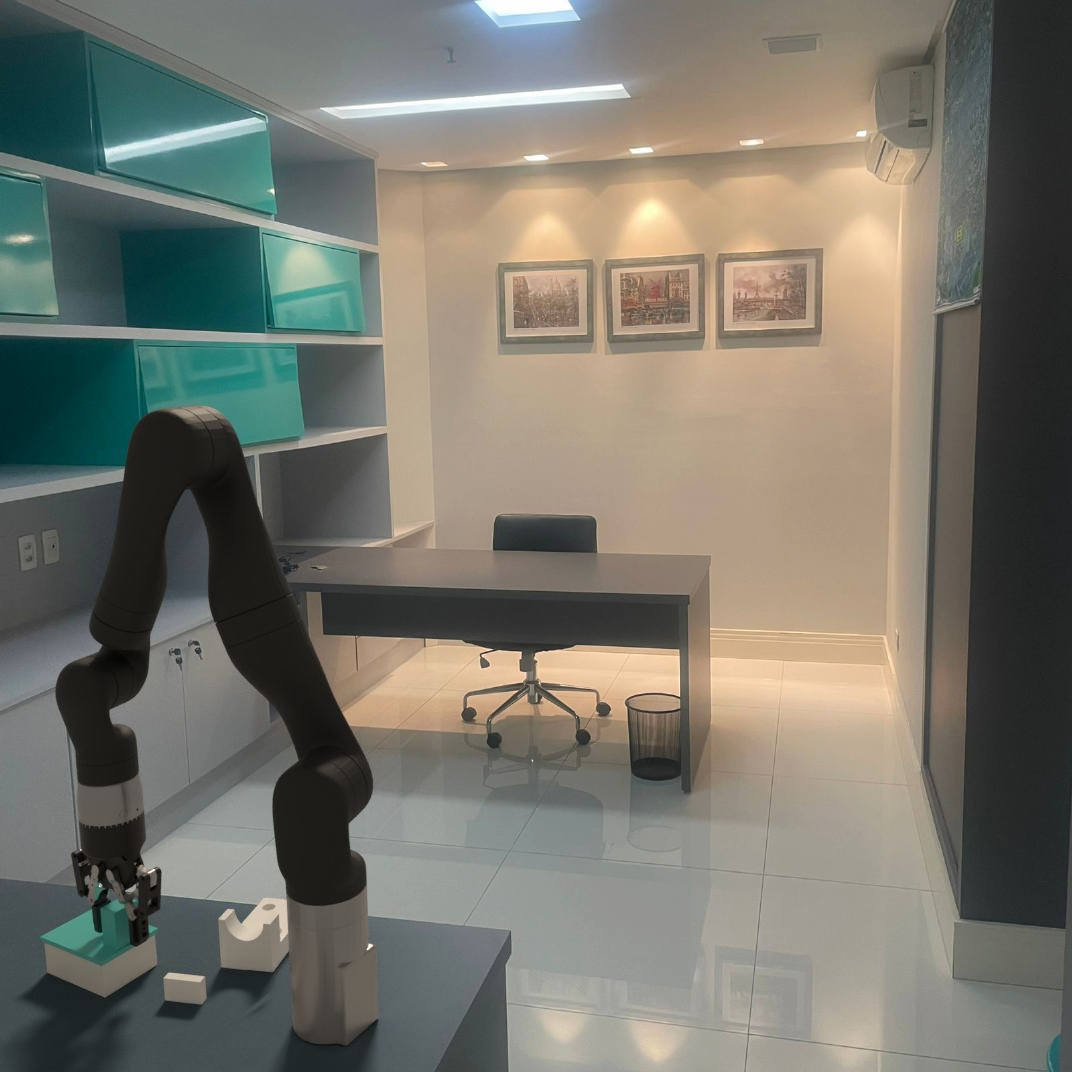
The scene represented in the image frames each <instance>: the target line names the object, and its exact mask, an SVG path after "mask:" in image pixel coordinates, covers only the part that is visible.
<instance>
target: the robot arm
mask: <svg viewBox="0 0 1072 1072" xmlns="http://www.w3.org/2000/svg"><path fill="white" fill-rule="evenodd" d="M130 436H131V437H130V439H129V443H128V447H127V453H126V457H125V464H124V470H123V471H124V472H123V479H122V485H121V494H120V499H119V506H118V511H117V512H118V513H117V517H116V525H115V531H114V537H113V542H112V547H111V551H110V552H111V553H110V556H109V559H108V562H107V563H108V564H107V565H106V569H105V572H104V576H103V579H102V580H101V581H102V582H101V585H100V588H99V591H98V594H97V597H96V599H95V603H94V605H93V608H92V612H91V615H90V617H89V624H88V628H89V632H90V635H91V636H92V638H93V640H95V642H97V643H98V644H100V645H101V646H100V648H99V650H98V651H97V652H95V653H91V654H90V655H86V656H84V657H81V658H78V659H76V660H73V661H71V662H69V663H67V664H66V665H65V666H64V667H63V668H62V669H61V671H60V672H59V674H58V677H57V680H56V684H55V691H54V692H55V693H54V694H55V701H56V706H57V708H58V710H59V713H60V716H61V719H62V720H63V722H64V726H65V728H66V731H67V733H68V736H69V738H70V741H71V743H72V745H73V748H74V752H75V753H74V754H75V755H74V756H75V768H76V779H77V790H76V805H77V817H78V829H79V842H80V848H78V849H76V850H75V851H72V852H70V853H71V854H70V857H71V864H72V867H73V873H74V879H75V884H76V886H75V887H76V890H77V894H78V896H79V897H80V898H83V897H85V898H86V899H87V903H88V905H90V906H91V909H92V916H93V924H94V930H95V931H96V932H98V933H102V922H101V910H100V908H102V907H104V906H105V905H107V904H109V903H111V902H112V900H111V898H109V897H110V895H111V891H113V892H114V893H115V895H116V898H117V899H118V901H119V903H121V904H124V906H125V909H126V911H127V914H128V917H129V919H128V924H129V936H130V945H132V946H135V947H137V946H139V945H141V944H142V943H144V942H146V941H147V939H148V937H149V928H148V927H149V925H150V924H149V916H151V915H153V914H154V913H157V912H159V911H160V910H161V903H162V902H161V901H162V900H161V899H162V869H161V868H160V867H159V866H155V867H153V868H152V869H151V868H149V867H147V866H145V863H144V860H143V857H142V854H141V850H142V848H143V847H144V844H145V842H146V841H147V832H146V831H147V830H146V819H145V818H146V815H145V806H144V805H145V803H144V792H143V791H144V790H143V784H142V778H141V775H140V766H139V764H140V763H139V753H138V752H139V751H138V742H137V741H138V740H137V736H136V732H135V731H134V730H133V729H132V728H131V727H130V726H128V725H125V724H121V723H113V722H112V719H111V713H110V710H113V709H115V708H117V707H119V706H122V705H124V704H126V703H128V702H130V701H132V700H133V699H134V698H136V697H137V696H138V695H139V693H140V692H141V690H142V689H143V688H144V686H145V683H146V681H147V678H148V675H149V668H150V653H151V633H152V631H153V628H154V626H155V623H156V620H157V618H158V614H159V613H160V609H161V606H162V604H163V600H164V598H165V596H166V595H165V594H166V591H167V590H166V589H167V587H168V579H169V577H168V575H169V574H168V572H169V571H168V570H169V569H168V558H167V551H166V549H167V548H166V540H167V538H166V537H167V532H168V527H169V523H170V520H171V518H172V515H173V513H174V511H175V509H176V507H177V505H178V503H179V502H180V499H181V497H182V496H183V495H184V493H185V491H188V490H190V491H191V494H192V496H193V498H194V500H195V503H196V505H197V507H198V510H199V513H200V515H201V517H202V520H203V524H204V526H205V530H206V534H207V535H206V536H207V539H208V542H207V543H208V567H207V568H208V570H207V573H208V574H207V596H208V604H209V610H210V614H211V616H212V619H213V622H214V625H215V628H216V630H217V632H218V634H219V637H220V639H221V642H222V644H223V647H224V649H225V652H226V654H227V655H228V658H229V660H230V662H231V663H232V664H233V666H234V668H235V669H236V670H237V671H238V673H239V674H240V675H241V676H242V677H243V678H244V679H245V680H246V681H247V683H249V684H250V685H251V686H252V687H253V688H254V689H255V690H256V691H257V692H258V693H259V694H260V695H261V696H263V697H264V698H265V699H266V700H267V701H268V702H269V704H271V706H272V707H273V708H274V709H275V711H276V712H277V713H278V714H279V716H280V718H281V719H282V721H283V723H284V725H285V728H286V729H287V732H288V734H289V737H290V739H291V742H292V745H293V747H294V750H295V754H296V755H297V756H296V757H297V759H298V761H296V762H295V763H293V764H292V765H291V766H290V767H288V768H287V769H286V770H285V771H284V772H282V774H281V775H280V776H279V777H278V779H277V780H276V781H275V785H274V789H273V792H272V793H273V794H272V801H271V803H272V806H271V807H272V808H271V809H272V810H271V811H272V824H273V825H272V826H273V834H274V844H275V852H276V853H275V854H276V861H277V866H278V869H279V871H280V874H281V875H282V877H283V880H284V881H285V894H286V896H285V897H286V898H285V899H286V900H287V922H288V941H289V952H288V955H289V956H288V957H289V975H290V976H289V977H290V993H291V1012H292V1015H291V1016H292V1028H293V1031H294V1033H295V1034H296V1035H297V1037H298V1038H301V1039H302V1040H303V1041H306V1042H308V1043H311V1044H317V1045H331V1044H332V1045H333V1044H334V1045H335V1044H339V1045H342V1046H349V1045H350V1044H351V1043H352V1042H353V1041H354V1040H355V1039H356V1038H357V1037H358V1036H359V1035H361V1034H362V1033H363V1032H364V1031H365V1030H366V1029H368V1028H369V1027H370V1026H372V1024H374V1022H375V1021H377V1020H378V1019H379V1018H380V1017H379V995H378V994H379V992H378V991H379V990H378V963H377V961H378V960H377V946H376V945H375V944H373V943H370V935H369V911H368V910H369V909H368V905H369V904H368V903H369V902H368V882H367V881H368V879H367V876H368V875H367V874H368V873H367V864H366V861H365V859H364V857H363V856H362V855H361V854H360V852H358V851H355V850H354V849H351V843H350V823H352V821H354V820H355V818H356V817H358V816H359V815H360V814H361V813H362V811H364V809H365V808H366V807H367V805H369V802H370V801H371V799H372V796H373V792H374V778H373V772H372V769H371V766H370V764H369V761H368V758H367V757H366V755H365V753H364V751H363V749H362V747H361V744H360V743H359V741H358V739H357V737H356V736H355V734H354V732H353V729H352V728H351V726H350V724H349V722H348V721H347V718H346V716H345V715H344V713H343V711H342V709H341V707H340V705H339V703H338V701H337V699H336V697H335V695H334V692H333V690H332V687H331V686H330V683H329V681H328V678H327V675H326V674H325V670H324V669H323V666H322V664H321V661H320V658H319V656H318V654H317V652H316V649H315V647H314V644H313V642H312V640H311V637H310V634H309V632H308V628H307V626H306V623H305V620H304V618H303V614H302V613H301V610H300V608H299V606H298V605H299V604H298V603H297V600H296V598H295V595H294V593H293V590H292V587H291V585H290V583H289V581H288V579H287V577H286V574H285V572H284V570H283V567H282V564H281V563H280V559H279V556H278V554H277V552H276V549H275V547H274V543H273V540H272V539H271V535H270V533H269V531H268V528H267V526H266V523H265V521H264V518H263V516H262V513H261V510H260V507H259V503H258V501H257V497H256V494H255V491H254V487H253V483H252V480H251V476H250V473H249V469H248V465H247V462H246V461H247V460H246V458H245V455H244V452H243V451H244V450H243V448H242V444H241V442H240V439H239V436H238V434H237V432H236V430H235V429H234V427H233V424H232V423H231V421H229V419H228V418H227V416H225V415H224V414H223V413H222V412H220V411H219V410H217V409H216V408H214V407H212V406H207V405H189V406H188V405H187V406H177V407H166V408H165V407H164V408H159V409H156V410H153V411H150V412H148V413H146V414H145V415H143V416H142V417H141V418H140V419H139V421H138V422H137V423H136V424H135V426H134V428H133V430H132V434H131V435H130ZM88 876H89V877H88ZM86 877H88V878H89V883H87V884H86ZM133 887H135V889H133V890H132V891H130V892H129V893H127V892H126V891H128V890H130V889H131V888H133ZM135 898H137V899H136V900H137V904H138V907H136V908H135V906H134V903H133V899H134V900H135ZM117 899H116V900H117ZM149 901H150V902H149Z"/></svg>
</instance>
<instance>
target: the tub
mask: <svg viewBox="0 0 1072 1072" xmlns="http://www.w3.org/2000/svg"><path fill="white" fill-rule="evenodd" d="M43 943H44V942H43ZM44 951H45V952H44V953H45V961H46V962H45V963H46V972H47V974H50V975H51V976H54V977H57V978H59V979H61V980H63V981H66V982H68V983H71V984H73V985H75V986H76V987H79V988H81V989H84V990H87V991H88V992H91V993H94V994H96V995H97V996H100V997H103V998H108V997H109V996H110V995H112V994H113V993H115V992H117V991H118V990H119V989H122V987H124V986H126V985H128V984H129V983H131V982H132V981H134V980H135V979H138V978H139V977H140V976H142V975H144V974H145V973H147V972H148V971H150V970H152V969H153V968H154V967H156V966H158V957H157V942H156V934H155V935H154V936H152V937H150V938H149V939H147V941H146V942H144V943H142V944H141V945H139V946H137V947H133V948H132V949H130V950H128V951H127V952H125V953H123V954H122V955H120V956H118V957H117V958H115V959H113V960H112V961H110V962H108V963H107V964H105V965H103V966H100V965H98V964H95V963H93V962H90V961H88V960H85V959H83V958H81V957H78V956H76V955H73V954H71V953H68V952H66V951H64V950H61V949H59V948H56V947H54V946H51V945H49V944H46V943H44Z"/></svg>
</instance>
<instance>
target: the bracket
mask: <svg viewBox="0 0 1072 1072" xmlns="http://www.w3.org/2000/svg"><path fill="white" fill-rule="evenodd" d="M217 921H218V922H217V923H218V937H219V951H220V955H219V956H220V967H221V968H223V969H224V968H225V969H234V970H235V969H236V970H244V971H248V970H249V971H257V972H266V973H274V971H275V970H276V969H277V967H279V965H280V963H282V961H283V959H284V958H285V957H286V956H287V954H289V941H288V922H287V900H286V898H285V899H283V898H274V897H263V899H261V901H260V902H259V903H258V904H257V905H256V906H255V908H254V909H253V910H252V911H251V912H250V913H249V914H248V916H247V917H245V919H244V920H243V921H242V922H241V921H240V920H239V919H238V917H237V915H236V911H235V909H233V908H227V909H226V910H225V911H224V912H223V914H221V915H220V916H219V918H218V919H217Z"/></svg>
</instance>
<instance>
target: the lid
mask: <svg viewBox="0 0 1072 1072" xmlns="http://www.w3.org/2000/svg"><path fill="white" fill-rule="evenodd" d="M133 903H134V906H135V908H136V907H138V899H135V898H134V899H133ZM100 910H101V922H102V933H98V932H96V931H95V930H94V924H93V916H92V908H91V909H89V910H87V911H86V912H84V913H82V914H80V915H78V916H77V917H75V918H72V919H71V920H69V921H67V922H65V923H63V924H62V925H60V926H58V927H55V928H54V929H52V930H50V931H48V932H46V933H45V934H43V935H40V937H39V938H40V942H42V943H46V944H49V945H51V946H54V947H56V948H59V949H61V950H64V951H66V952H68V953H71V954H73V955H76V956H78V957H81V958H83V959H85V960H88V961H90V962H93V963H95V964H98V965H100V966H103V965H105V964H107V963H108V962H110V961H112V960H113V959H115V958H117V957H118V956H120V955H122V954H123V953H125V952H127V951H128V950H130V949H132V948H133V947H135V946H132V945H130V936H129V924H128V919H129V917H128V914H127V911H126V909H125V906H124V904H121V903H119V901H118V899H115V900H113V901H111V903H109V904H107V905H105V906H104V907H102V908H100ZM148 925H149V927H148V928H149V937H148V939H149V938H150V937H152V936H154V935H155V936H156V935H157V934H159V927H155V926H152V925H150V924H148Z"/></svg>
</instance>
